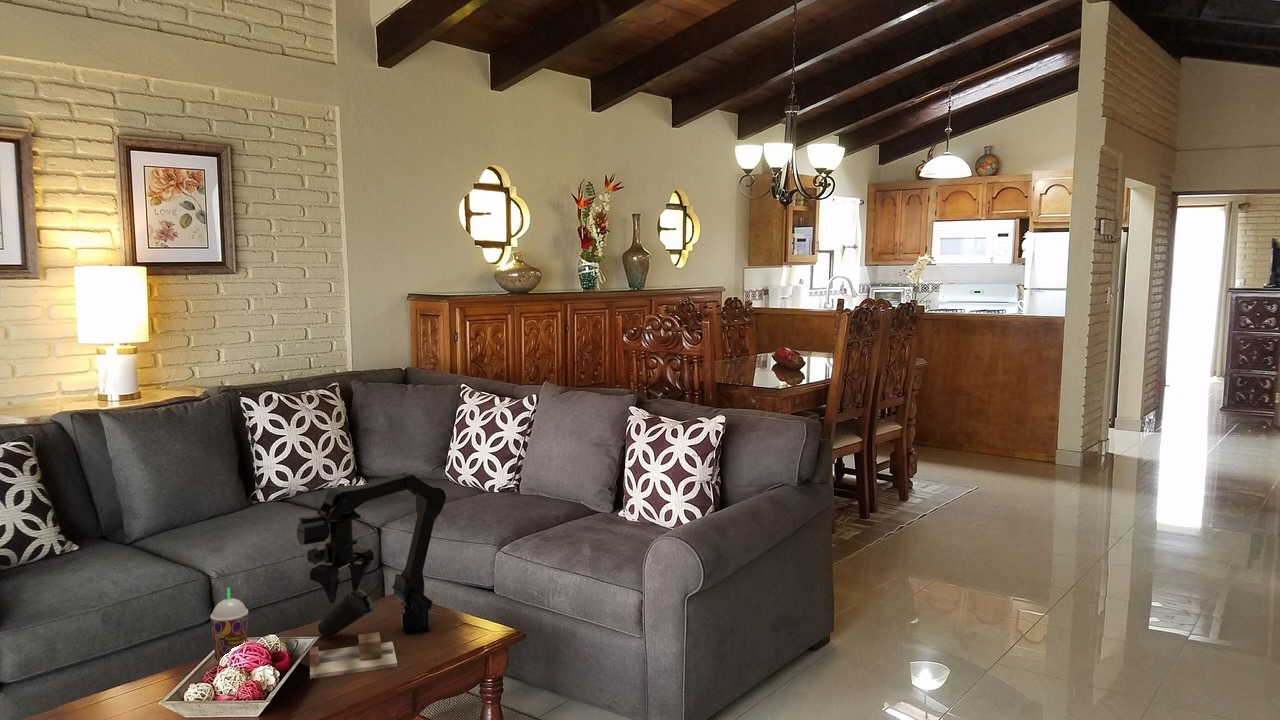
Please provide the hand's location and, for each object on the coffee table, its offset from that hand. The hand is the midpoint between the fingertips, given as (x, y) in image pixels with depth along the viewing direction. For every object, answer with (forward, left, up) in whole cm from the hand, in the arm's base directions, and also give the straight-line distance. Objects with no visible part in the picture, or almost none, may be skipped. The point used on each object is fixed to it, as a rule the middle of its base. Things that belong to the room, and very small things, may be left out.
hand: (343, 596), depth 228 cm
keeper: (-6, +10, -12) cm, 16 cm away
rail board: (-2, +10, -13) cm, 17 cm away
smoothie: (+26, +4, -14) cm, 30 cm away
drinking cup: (+5, -9, -12) cm, 16 cm away
